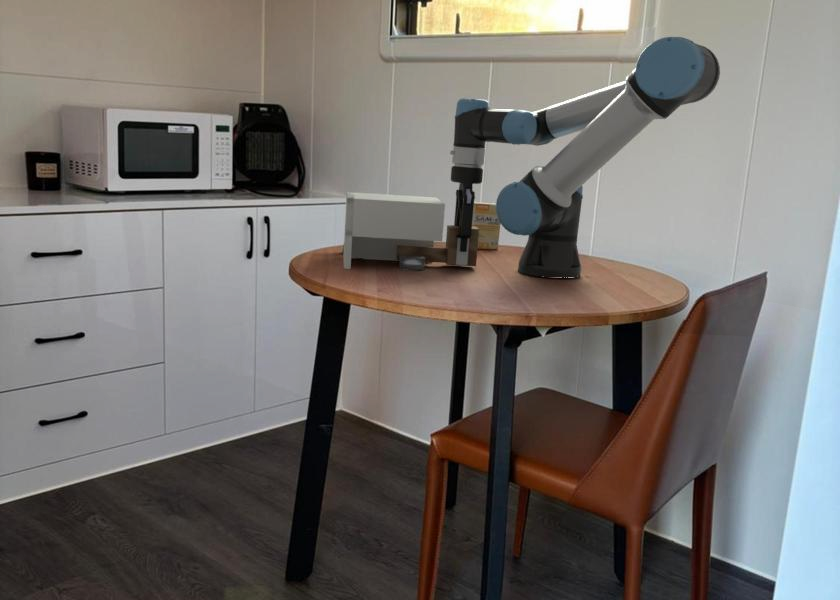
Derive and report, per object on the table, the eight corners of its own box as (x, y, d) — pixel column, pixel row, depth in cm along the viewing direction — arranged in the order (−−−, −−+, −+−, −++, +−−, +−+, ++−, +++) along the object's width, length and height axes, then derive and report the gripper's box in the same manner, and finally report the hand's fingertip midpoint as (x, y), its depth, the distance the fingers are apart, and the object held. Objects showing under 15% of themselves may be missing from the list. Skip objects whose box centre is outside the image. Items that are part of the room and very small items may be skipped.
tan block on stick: (472, 263, 196) (475, 226, 194) (475, 266, 191) (478, 229, 189) (395, 259, 194) (398, 222, 192) (397, 262, 189) (399, 225, 187)
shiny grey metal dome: (423, 267, 191) (423, 255, 190) (425, 272, 185) (426, 259, 184) (398, 266, 190) (398, 253, 189) (400, 270, 184) (400, 258, 184)
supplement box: (470, 249, 225) (474, 202, 222) (466, 246, 230) (470, 201, 227) (498, 250, 227) (502, 204, 224) (493, 247, 231) (497, 202, 229)
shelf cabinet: (431, 261, 199) (436, 197, 195) (439, 273, 183) (445, 204, 180) (343, 257, 196) (346, 191, 193) (343, 268, 181) (347, 198, 177)
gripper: (447, 163, 197) (440, 255, 202) (456, 166, 179) (449, 268, 184) (477, 165, 198) (469, 257, 202) (489, 169, 180) (481, 270, 185)
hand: (459, 262), depth 193 cm, fingers closed on tan block on stick, 5 cm apart
